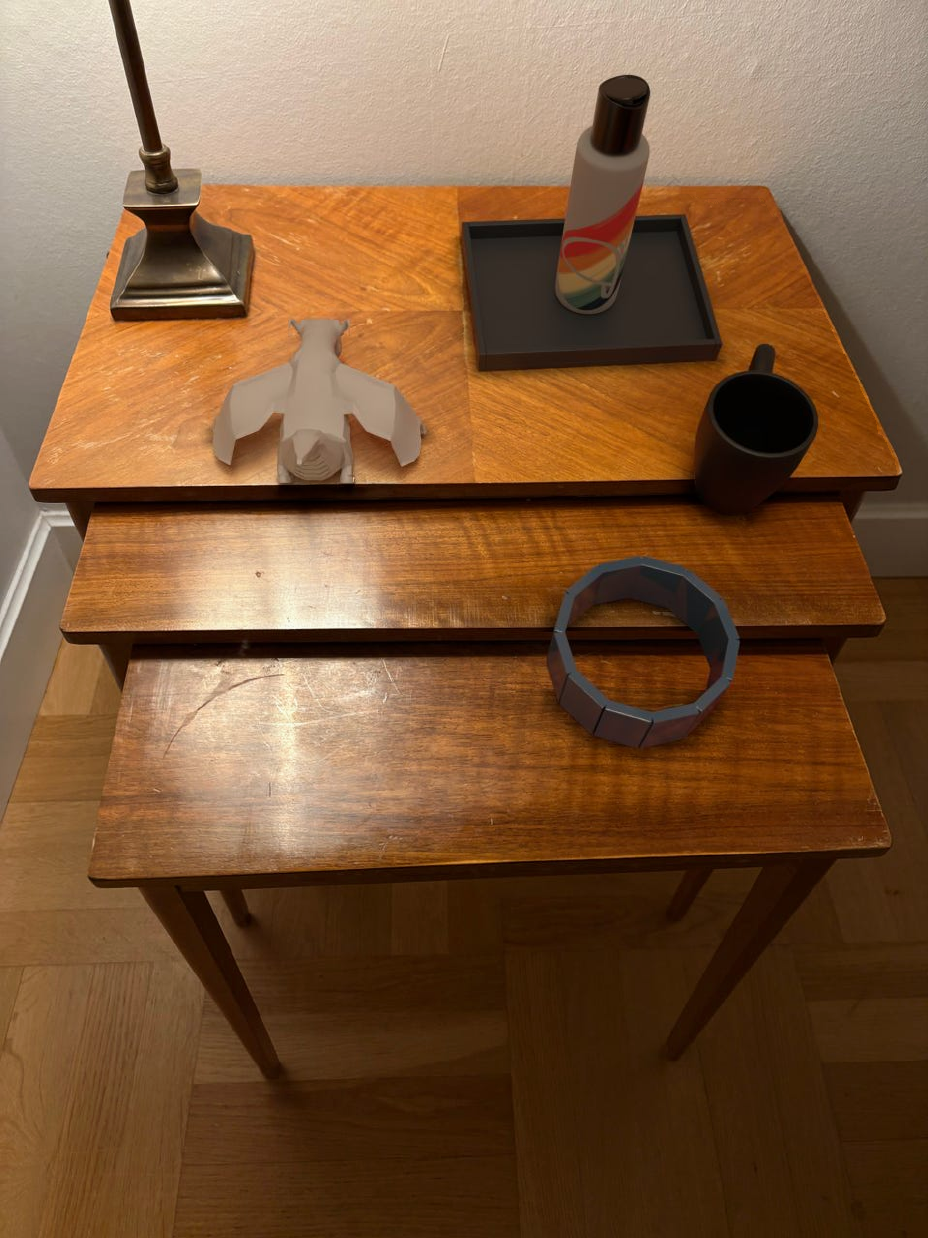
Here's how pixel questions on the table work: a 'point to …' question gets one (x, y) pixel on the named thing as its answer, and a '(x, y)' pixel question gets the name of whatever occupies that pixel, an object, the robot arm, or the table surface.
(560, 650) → the segmented bangle bracelet
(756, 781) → the table surface
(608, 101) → the white cylindrical bottle
